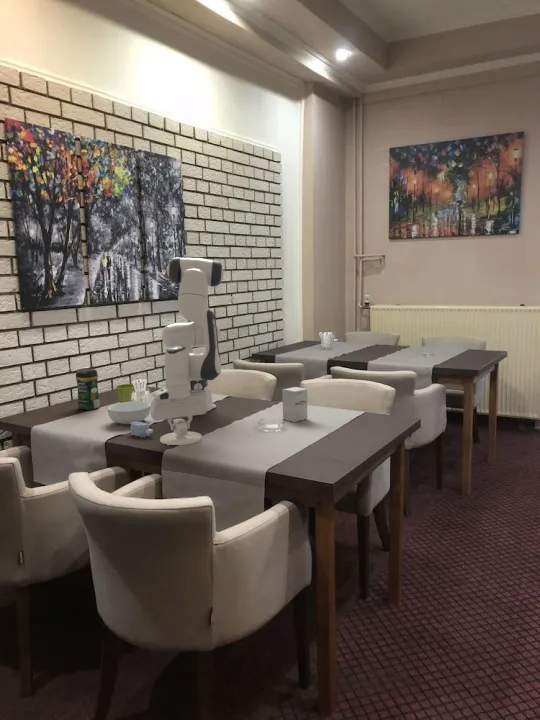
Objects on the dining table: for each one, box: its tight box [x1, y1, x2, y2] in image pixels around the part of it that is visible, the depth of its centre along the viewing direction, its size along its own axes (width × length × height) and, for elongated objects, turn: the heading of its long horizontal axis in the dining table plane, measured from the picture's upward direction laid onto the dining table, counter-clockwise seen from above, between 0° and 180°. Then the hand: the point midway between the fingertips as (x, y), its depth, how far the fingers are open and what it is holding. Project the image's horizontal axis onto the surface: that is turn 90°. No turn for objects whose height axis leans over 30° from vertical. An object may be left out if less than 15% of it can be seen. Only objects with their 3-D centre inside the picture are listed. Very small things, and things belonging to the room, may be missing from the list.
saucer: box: [159, 430, 202, 446], centre depth 211 cm, size 15×15×1 cm
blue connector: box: [130, 421, 154, 438], centre depth 218 cm, size 10×4×4 cm, turn 54°
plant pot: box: [114, 383, 133, 403], centre depth 272 cm, size 9×9×9 cm
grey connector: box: [172, 418, 189, 436], centre depth 210 cm, size 10×4×4 cm, turn 24°
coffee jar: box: [75, 367, 101, 411], centre depth 265 cm, size 10×8×19 cm
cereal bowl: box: [107, 400, 151, 425], centre depth 238 cm, size 17×17×7 cm
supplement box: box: [281, 386, 308, 423], centre depth 234 cm, size 7×7×13 cm
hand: (180, 428), depth 211 cm, fingers closed on grey connector, 4 cm apart
